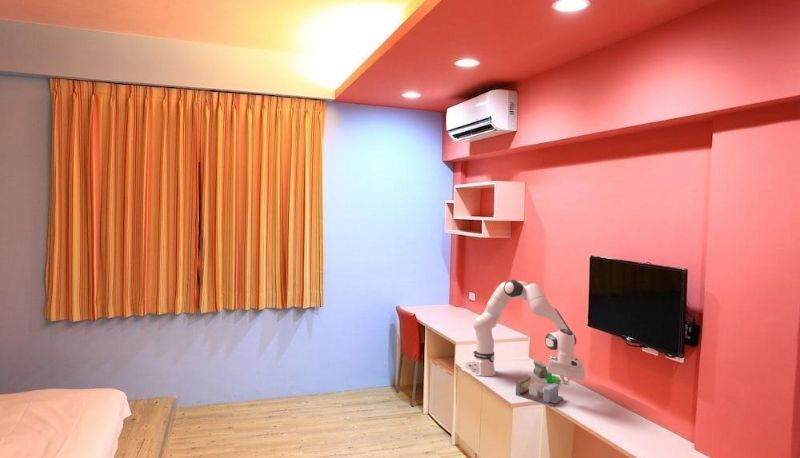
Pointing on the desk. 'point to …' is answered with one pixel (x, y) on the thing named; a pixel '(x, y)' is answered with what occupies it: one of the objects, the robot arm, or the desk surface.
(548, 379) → the mechanical part
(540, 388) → the steel block
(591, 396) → the desk surface
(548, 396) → the free jaw
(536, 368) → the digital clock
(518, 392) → the vise base
